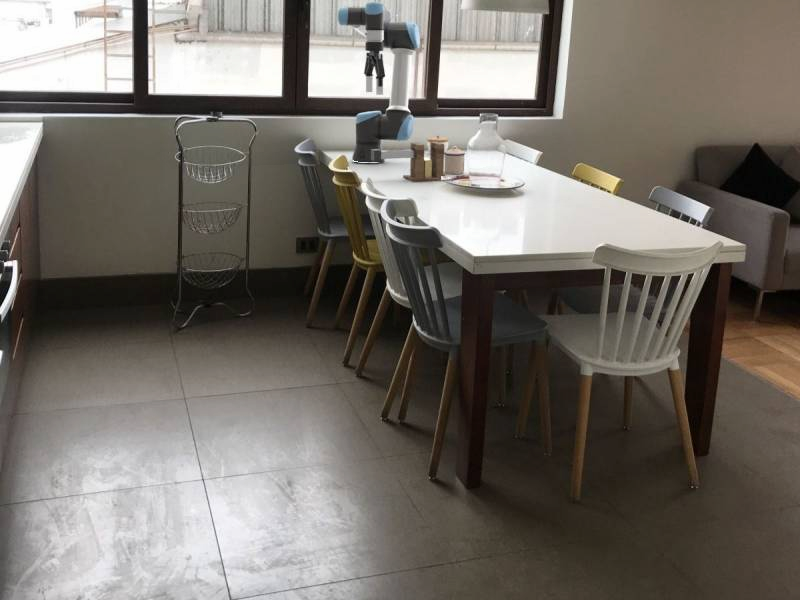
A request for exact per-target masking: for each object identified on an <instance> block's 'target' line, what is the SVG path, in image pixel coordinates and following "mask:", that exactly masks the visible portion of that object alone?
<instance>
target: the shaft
mask: <svg viewBox="0 0 800 600" xmlns="http://www.w3.org/2000/svg"><path fill="white" fill-rule="evenodd" d="M410 158H416V149H411V148H410V149H394V150H393V149H390V150H387V149H386V150H382V151H381V150H379V149H371V160H372V161H381V159H384V160H388V159H390V160H391V159H410Z"/></svg>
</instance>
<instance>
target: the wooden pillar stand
mask: <svg viewBox="0 0 800 600" xmlns="http://www.w3.org/2000/svg"><path fill="white" fill-rule="evenodd" d="M411 149H416V158H409V159H410V162H409V163H410V164H409V165H410V169H409V171H410V172H409V173H410V174H403V176H402V178H403V179H404V180H407V181H410V182H412V183H422V182H425V183H427V182H442V181H441V176H446V175H445V172H444V166H445V154H444V144H443V143H440V142H431V143H430V151H429V159H430V160H432V175H431V178H424V158H425V144H423V143H420V142H416V141H415V142H410V150H411Z"/></svg>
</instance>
